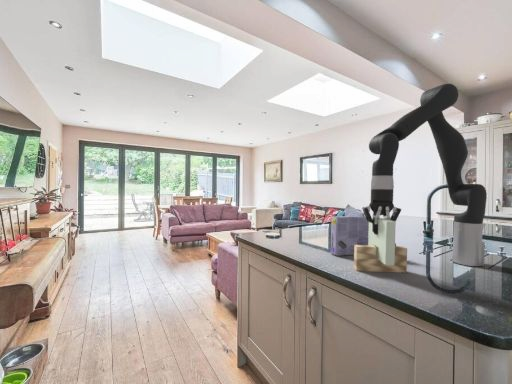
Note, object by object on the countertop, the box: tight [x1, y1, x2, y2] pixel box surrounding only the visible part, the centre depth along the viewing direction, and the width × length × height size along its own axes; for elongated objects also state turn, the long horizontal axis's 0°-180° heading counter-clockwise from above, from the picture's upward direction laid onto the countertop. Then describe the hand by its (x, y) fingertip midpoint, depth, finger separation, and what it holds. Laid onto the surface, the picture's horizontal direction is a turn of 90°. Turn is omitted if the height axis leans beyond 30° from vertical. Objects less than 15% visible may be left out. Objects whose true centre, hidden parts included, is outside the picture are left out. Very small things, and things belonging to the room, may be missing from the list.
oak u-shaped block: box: [353, 245, 408, 274], centre depth 95 cm, size 18×3×9 cm, turn 86°
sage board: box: [368, 215, 397, 265], centre depth 94 cm, size 3×16×15 cm, turn 176°
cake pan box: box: [330, 215, 369, 257], centre depth 118 cm, size 19×5×18 cm, turn 108°
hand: (380, 234), depth 94 cm, fingers closed on sage board, 3 cm apart
